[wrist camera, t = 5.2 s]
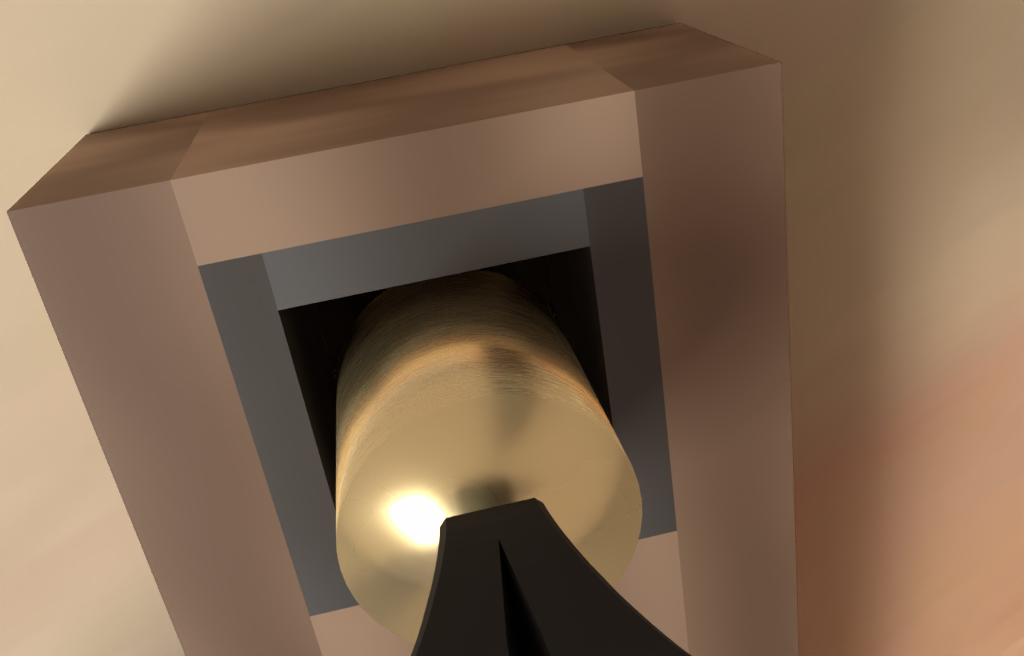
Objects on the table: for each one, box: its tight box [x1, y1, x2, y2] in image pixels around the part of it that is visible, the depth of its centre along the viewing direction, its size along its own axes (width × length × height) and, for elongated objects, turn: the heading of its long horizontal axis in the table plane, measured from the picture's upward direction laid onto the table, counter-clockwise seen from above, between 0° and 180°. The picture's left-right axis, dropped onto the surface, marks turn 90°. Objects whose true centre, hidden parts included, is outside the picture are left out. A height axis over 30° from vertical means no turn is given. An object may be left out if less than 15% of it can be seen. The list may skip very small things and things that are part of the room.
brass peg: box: [336, 269, 642, 643], centre depth 16 cm, size 4×4×5 cm
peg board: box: [7, 23, 799, 656], centre depth 22 cm, size 12×22×5 cm, turn 9°
